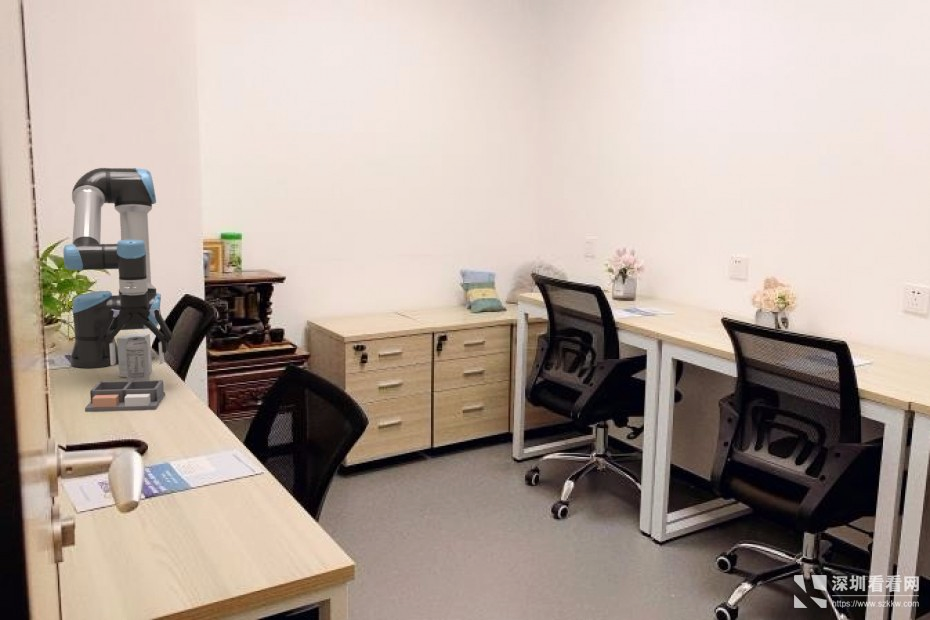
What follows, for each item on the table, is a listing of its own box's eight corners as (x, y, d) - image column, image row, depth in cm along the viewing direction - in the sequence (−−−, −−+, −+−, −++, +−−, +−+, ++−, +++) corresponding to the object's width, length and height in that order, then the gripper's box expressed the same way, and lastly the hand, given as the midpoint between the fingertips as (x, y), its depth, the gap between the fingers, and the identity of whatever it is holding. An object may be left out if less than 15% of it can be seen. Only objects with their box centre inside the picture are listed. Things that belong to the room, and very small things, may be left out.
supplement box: (153, 372, 245) (151, 333, 243) (141, 378, 238) (139, 339, 235) (131, 370, 246) (128, 332, 243) (118, 377, 239) (116, 337, 236)
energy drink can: (153, 385, 232) (151, 336, 229) (143, 390, 226) (140, 341, 223) (134, 383, 232) (132, 335, 229) (124, 389, 226) (121, 340, 223)
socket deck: (98, 396, 219) (97, 381, 218) (165, 395, 222) (164, 380, 222) (85, 411, 207) (84, 395, 206) (155, 409, 210) (154, 393, 209)
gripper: (84, 295, 218) (88, 367, 221) (176, 294, 222) (179, 365, 226) (91, 291, 225) (96, 361, 229) (181, 290, 229) (184, 359, 233)
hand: (137, 363), depth 227 cm, fingers open, 13 cm apart
